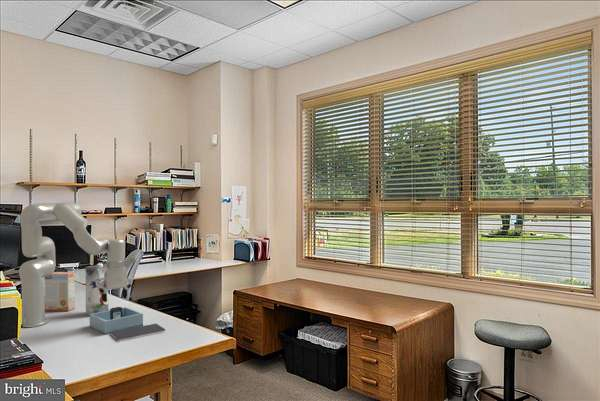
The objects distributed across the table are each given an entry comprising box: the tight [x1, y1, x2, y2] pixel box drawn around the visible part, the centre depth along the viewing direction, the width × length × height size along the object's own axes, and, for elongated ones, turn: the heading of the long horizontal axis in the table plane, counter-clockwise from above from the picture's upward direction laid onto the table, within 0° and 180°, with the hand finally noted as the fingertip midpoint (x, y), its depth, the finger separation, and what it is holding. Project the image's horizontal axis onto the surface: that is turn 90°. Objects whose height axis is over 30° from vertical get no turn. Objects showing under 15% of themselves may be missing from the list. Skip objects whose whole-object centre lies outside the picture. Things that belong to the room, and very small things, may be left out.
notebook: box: [109, 323, 166, 342], centre depth 192 cm, size 13×2×21 cm
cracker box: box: [44, 271, 76, 312], centre depth 232 cm, size 14×6×21 cm, turn 84°
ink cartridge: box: [109, 306, 123, 320], centre depth 203 cm, size 5×2×8 cm, turn 132°
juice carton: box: [84, 262, 109, 316], centre depth 225 cm, size 9×10×27 cm
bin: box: [89, 306, 144, 336], centre depth 203 cm, size 18×18×6 cm
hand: (114, 299), depth 203 cm, fingers open, 9 cm apart
